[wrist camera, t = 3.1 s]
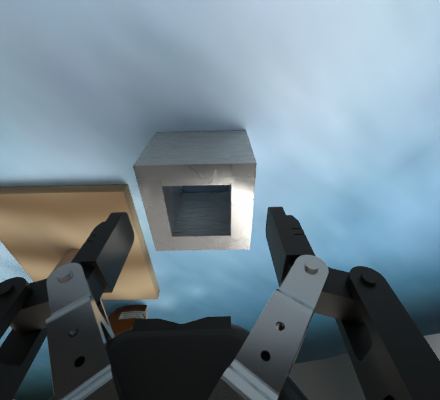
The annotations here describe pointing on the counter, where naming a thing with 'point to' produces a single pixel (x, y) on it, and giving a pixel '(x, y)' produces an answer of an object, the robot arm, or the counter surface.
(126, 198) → the block
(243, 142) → the grey square sleeve
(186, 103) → the counter surface
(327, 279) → the robot arm
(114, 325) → the food container
